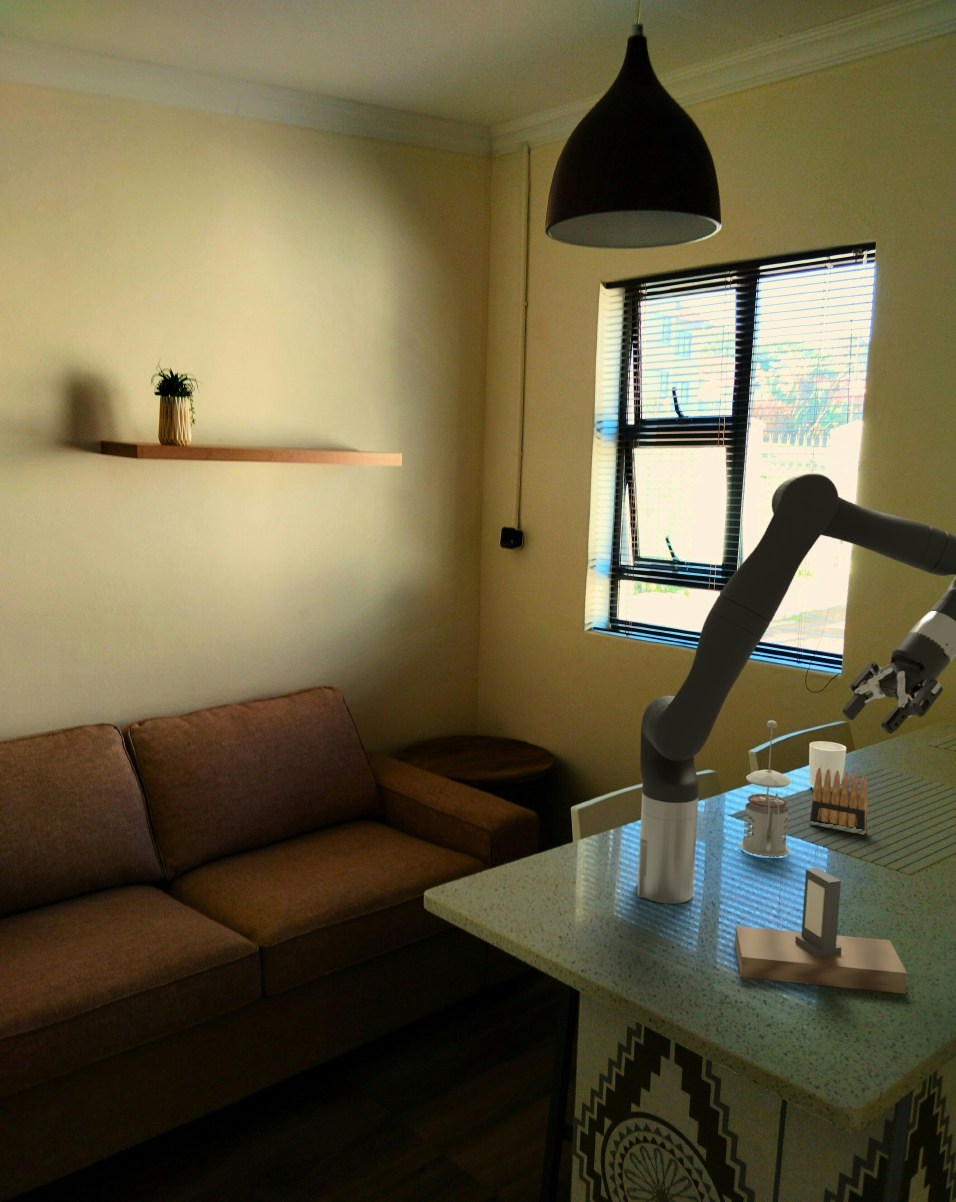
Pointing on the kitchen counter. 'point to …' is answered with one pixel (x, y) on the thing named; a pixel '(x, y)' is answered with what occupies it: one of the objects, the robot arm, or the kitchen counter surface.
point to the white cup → (826, 760)
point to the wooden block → (819, 961)
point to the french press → (766, 813)
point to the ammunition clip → (839, 801)
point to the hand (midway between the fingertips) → (865, 723)
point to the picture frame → (820, 914)
